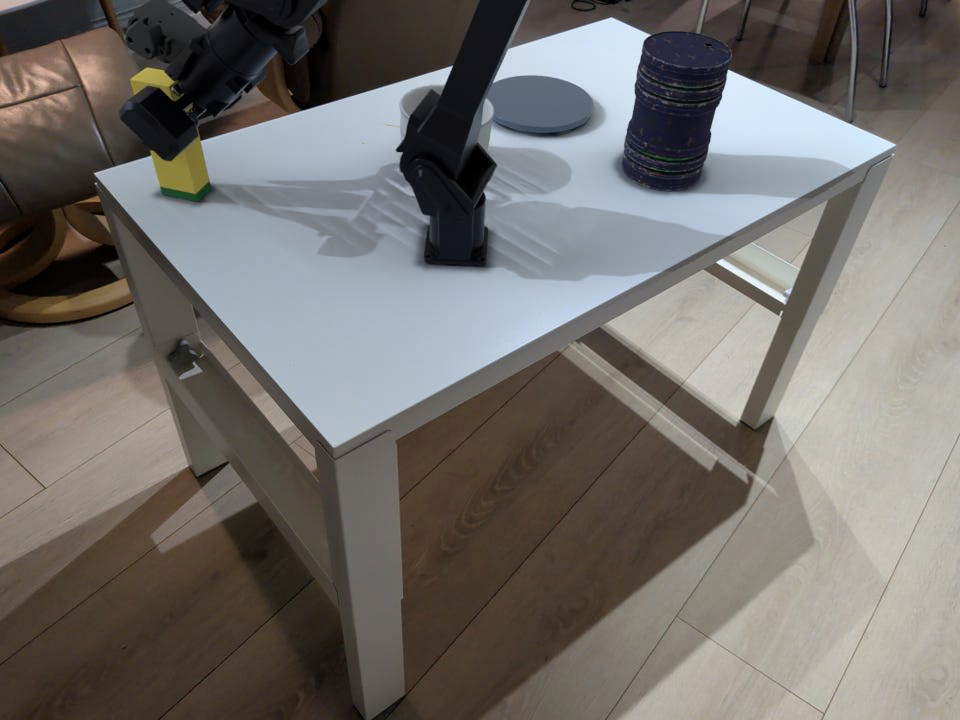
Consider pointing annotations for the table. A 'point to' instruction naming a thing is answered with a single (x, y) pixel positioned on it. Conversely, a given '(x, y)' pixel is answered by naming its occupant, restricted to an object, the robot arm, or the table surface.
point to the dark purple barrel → (674, 109)
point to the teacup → (417, 94)
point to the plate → (539, 103)
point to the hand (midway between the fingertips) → (161, 134)
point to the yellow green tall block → (189, 166)
